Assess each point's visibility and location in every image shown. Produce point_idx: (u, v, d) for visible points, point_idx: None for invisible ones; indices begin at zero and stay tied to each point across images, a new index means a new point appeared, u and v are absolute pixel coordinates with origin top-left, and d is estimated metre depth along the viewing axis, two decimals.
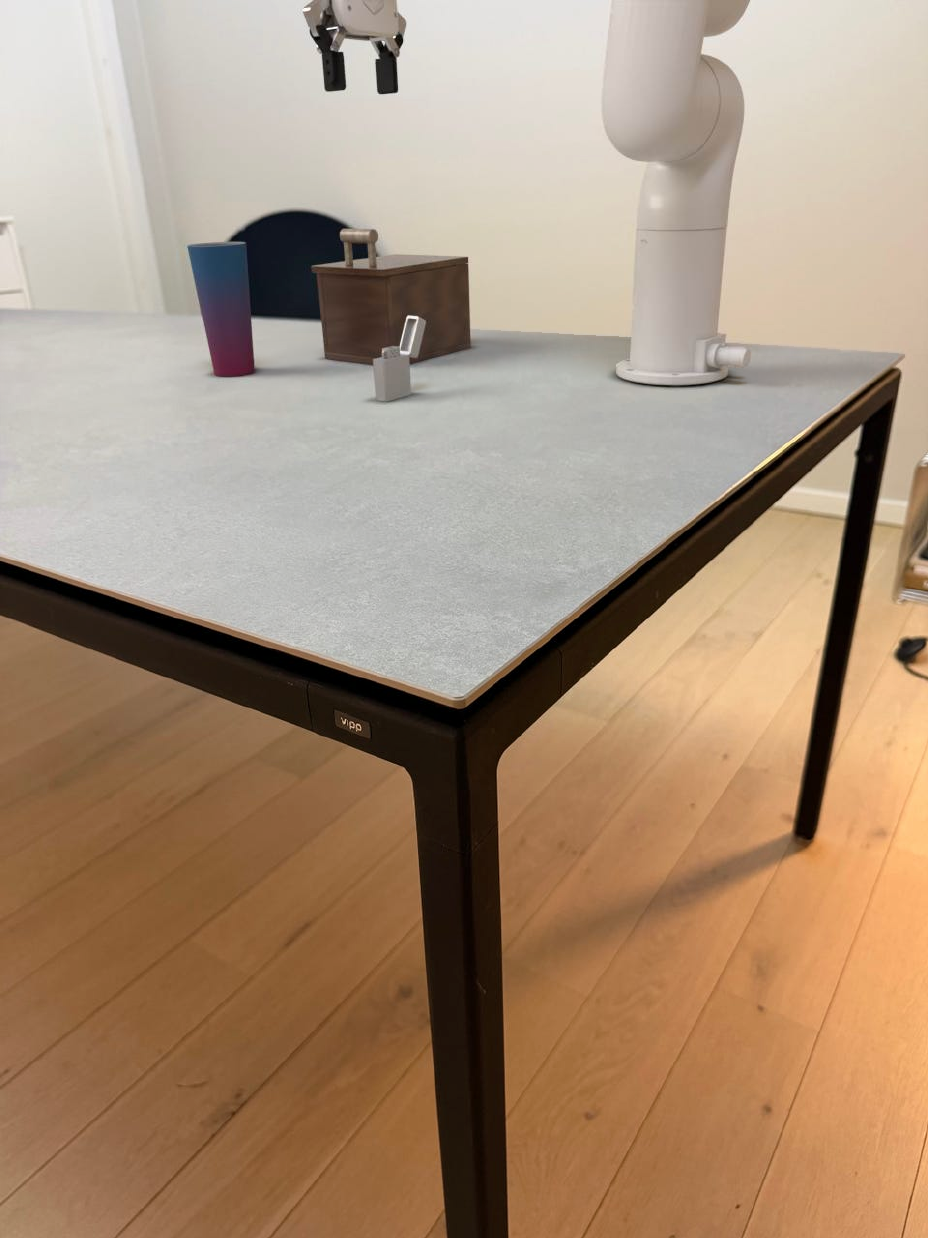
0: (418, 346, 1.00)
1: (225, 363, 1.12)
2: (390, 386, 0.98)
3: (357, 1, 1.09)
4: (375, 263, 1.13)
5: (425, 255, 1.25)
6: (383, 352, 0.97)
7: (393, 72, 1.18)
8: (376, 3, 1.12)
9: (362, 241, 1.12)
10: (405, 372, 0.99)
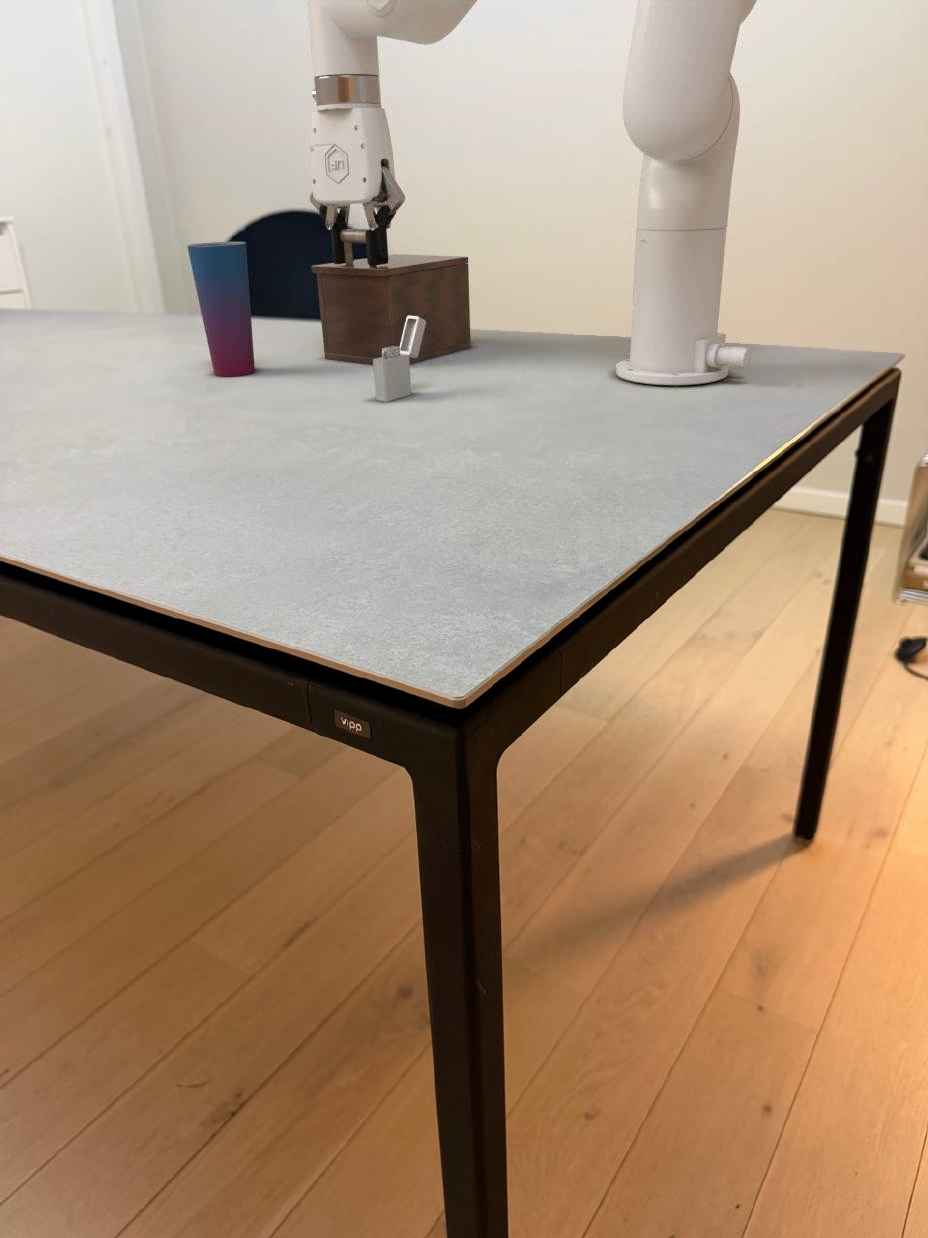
0: (418, 346, 1.00)
1: (225, 363, 1.12)
2: (390, 386, 0.98)
3: (321, 174, 1.10)
4: None
5: (425, 255, 1.25)
6: (383, 352, 0.97)
7: (367, 245, 1.11)
8: (341, 172, 1.08)
9: (362, 241, 1.12)
10: (405, 372, 0.99)
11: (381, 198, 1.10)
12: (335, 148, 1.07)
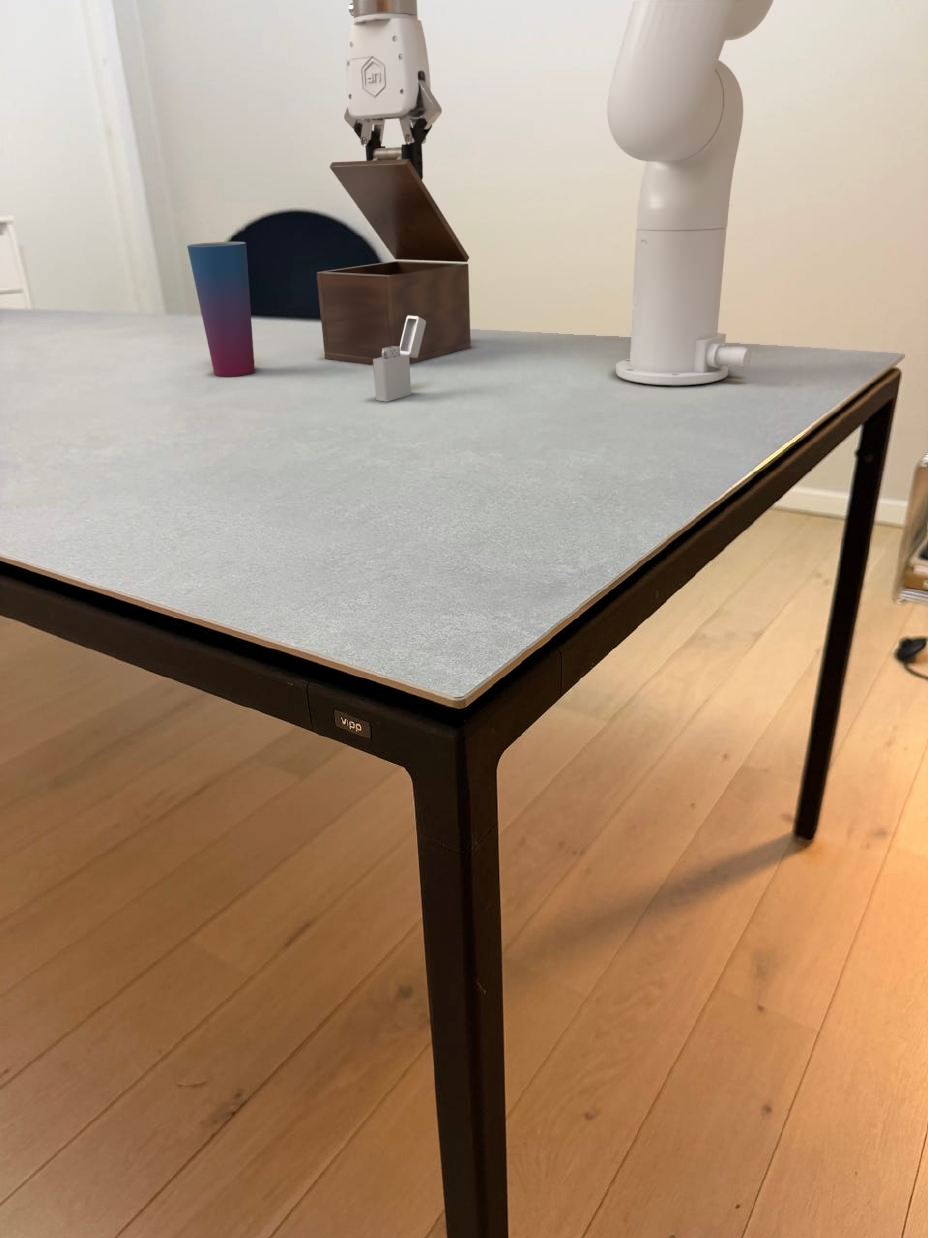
0: (418, 346, 1.00)
1: (225, 363, 1.12)
2: (390, 386, 0.98)
3: (357, 88, 1.11)
4: None
5: None
6: (383, 352, 0.97)
7: None
8: (378, 85, 1.09)
9: (393, 155, 1.13)
10: (405, 372, 0.99)
11: (417, 112, 1.11)
12: (372, 60, 1.08)
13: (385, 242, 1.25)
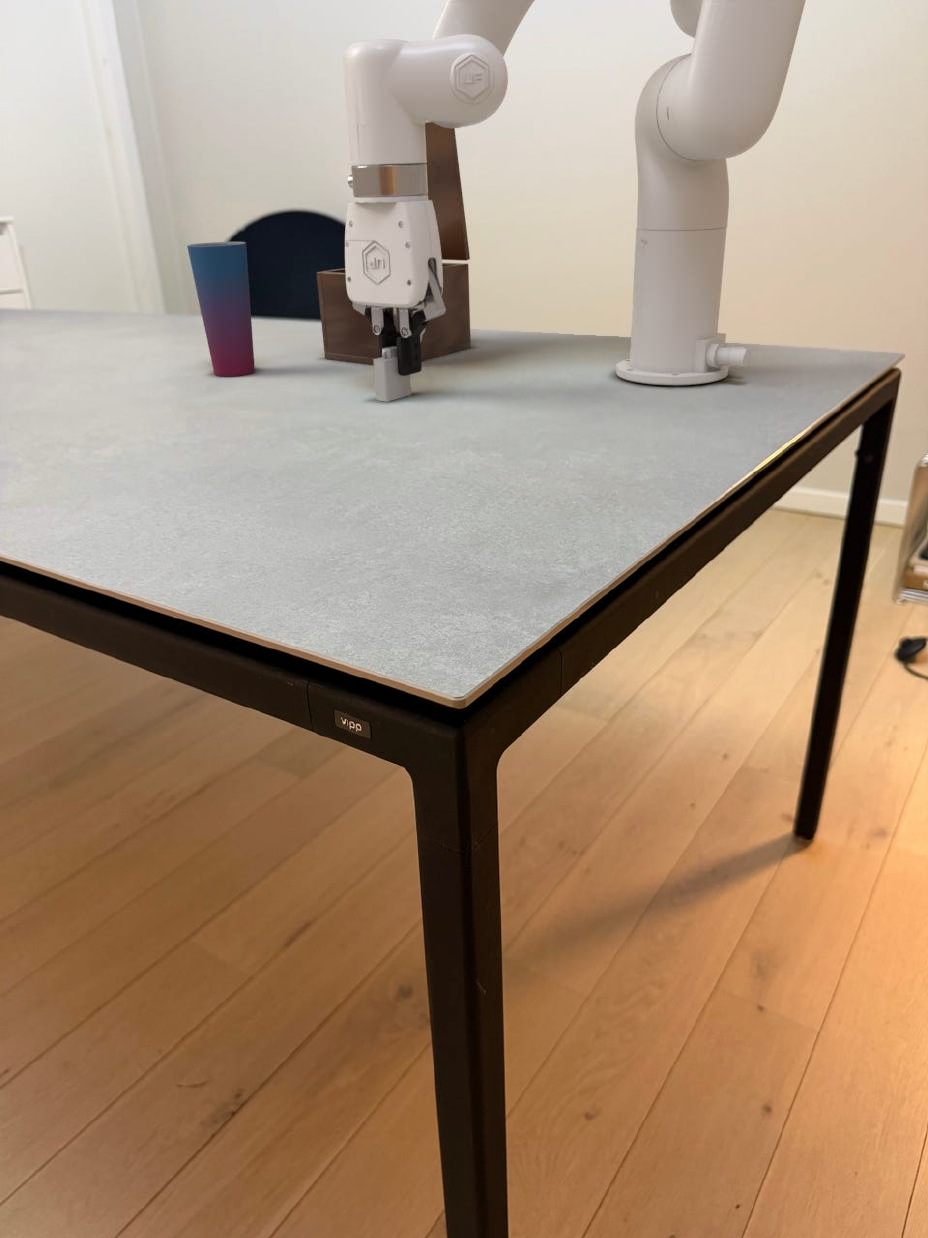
0: None
1: (225, 363, 1.12)
2: (391, 386, 0.98)
3: (357, 272, 0.95)
4: None
5: None
6: (383, 352, 0.97)
7: None
8: (382, 272, 0.93)
9: None
10: None
11: (420, 301, 0.96)
12: (375, 245, 0.92)
13: None
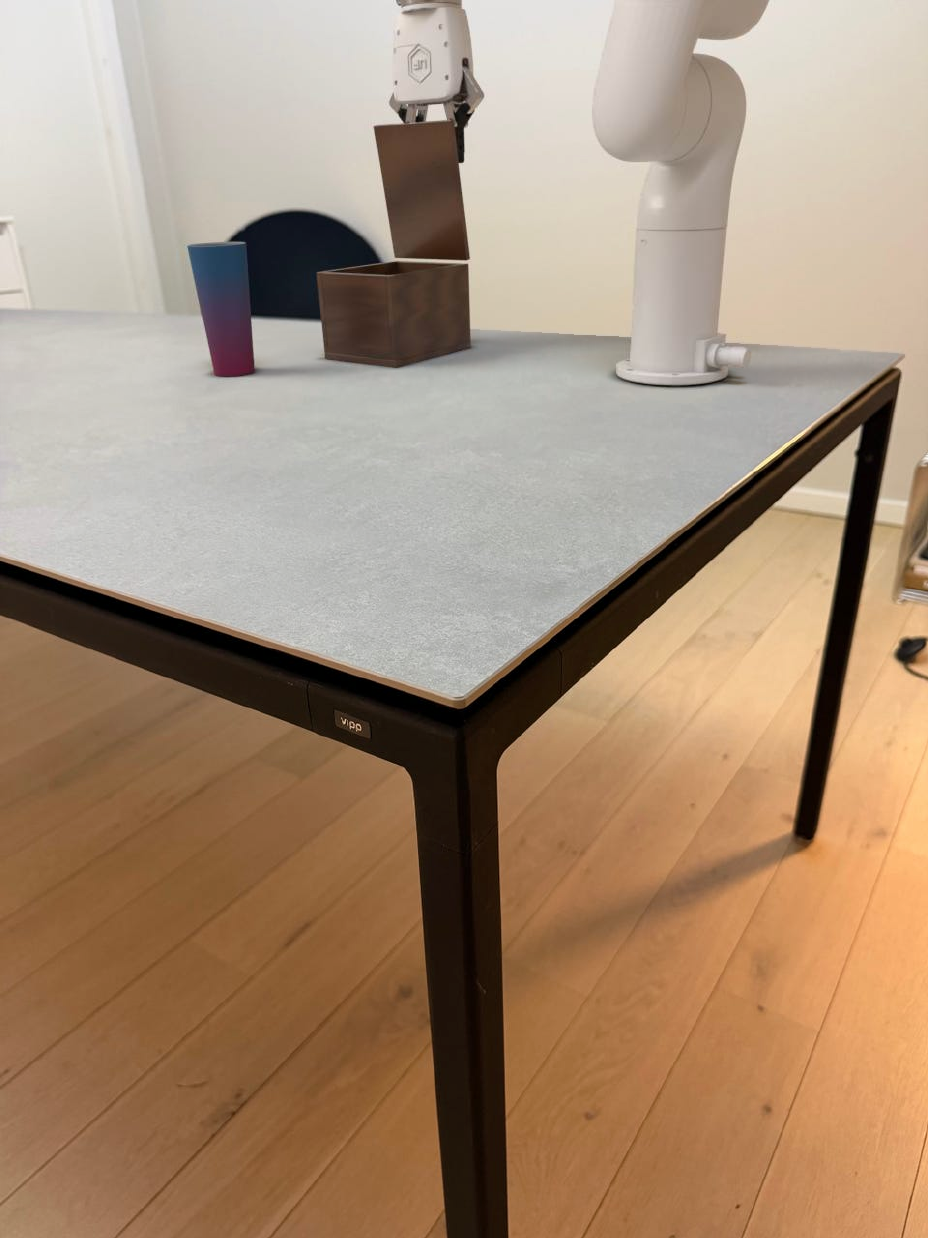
0: None
1: (225, 363, 1.12)
2: None
3: (403, 74, 1.16)
4: None
5: None
6: None
7: None
8: (424, 71, 1.14)
9: None
10: None
11: (460, 98, 1.17)
12: (418, 48, 1.13)
13: (393, 232, 1.26)
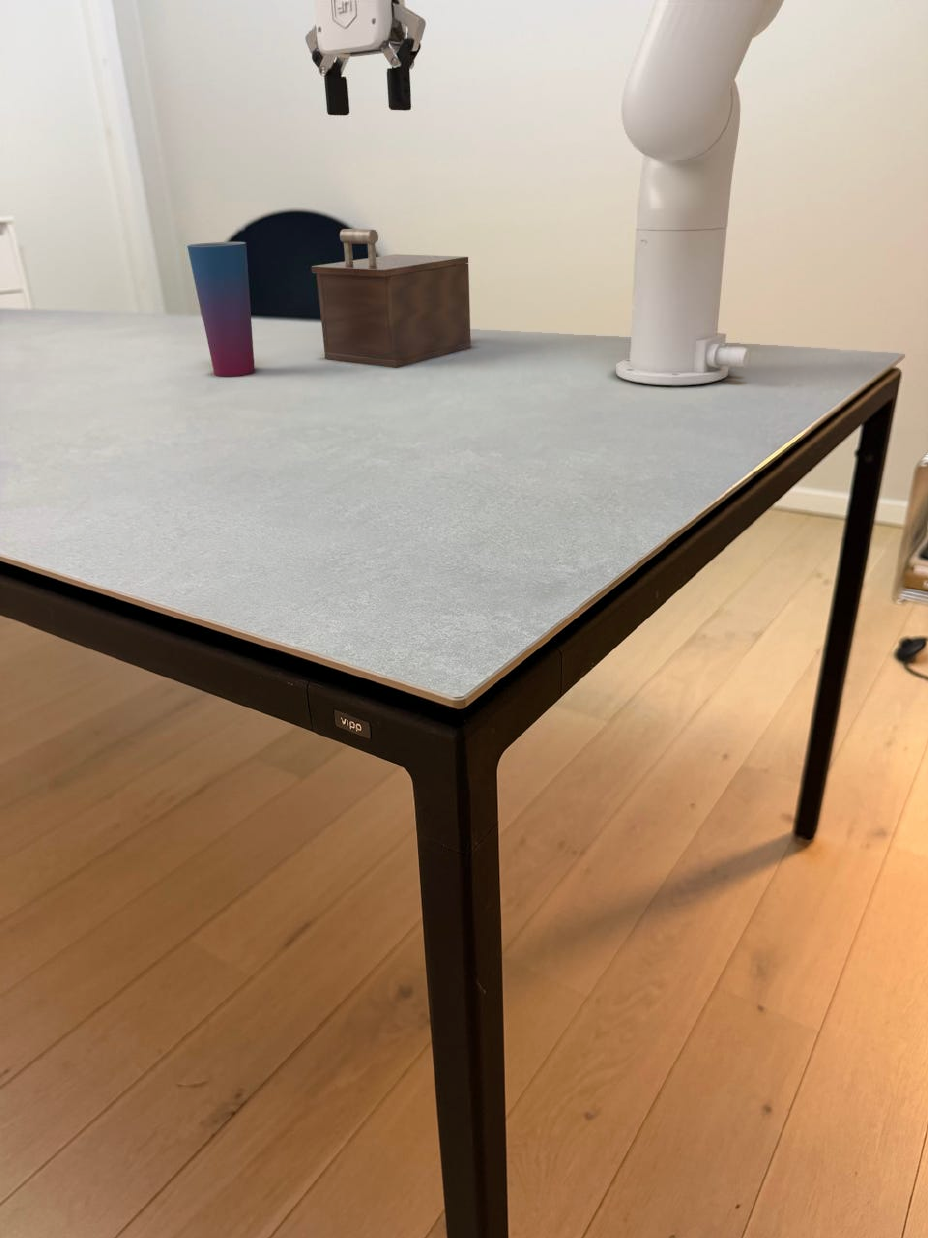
0: None
1: (225, 363, 1.12)
2: None
3: (326, 20, 1.02)
4: (375, 263, 1.13)
5: (425, 255, 1.25)
6: None
7: None
8: (349, 15, 1.01)
9: (362, 242, 1.12)
10: None
11: (397, 38, 1.02)
12: None
13: None
